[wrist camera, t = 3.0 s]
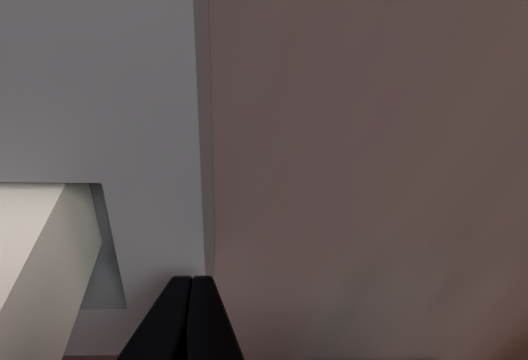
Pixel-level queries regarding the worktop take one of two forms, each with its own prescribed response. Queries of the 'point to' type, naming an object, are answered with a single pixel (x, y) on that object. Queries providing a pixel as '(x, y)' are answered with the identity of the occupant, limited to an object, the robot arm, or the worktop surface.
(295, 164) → the worktop surface
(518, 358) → the worktop surface
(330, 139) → the worktop surface
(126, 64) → the switch bank
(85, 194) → the tab
